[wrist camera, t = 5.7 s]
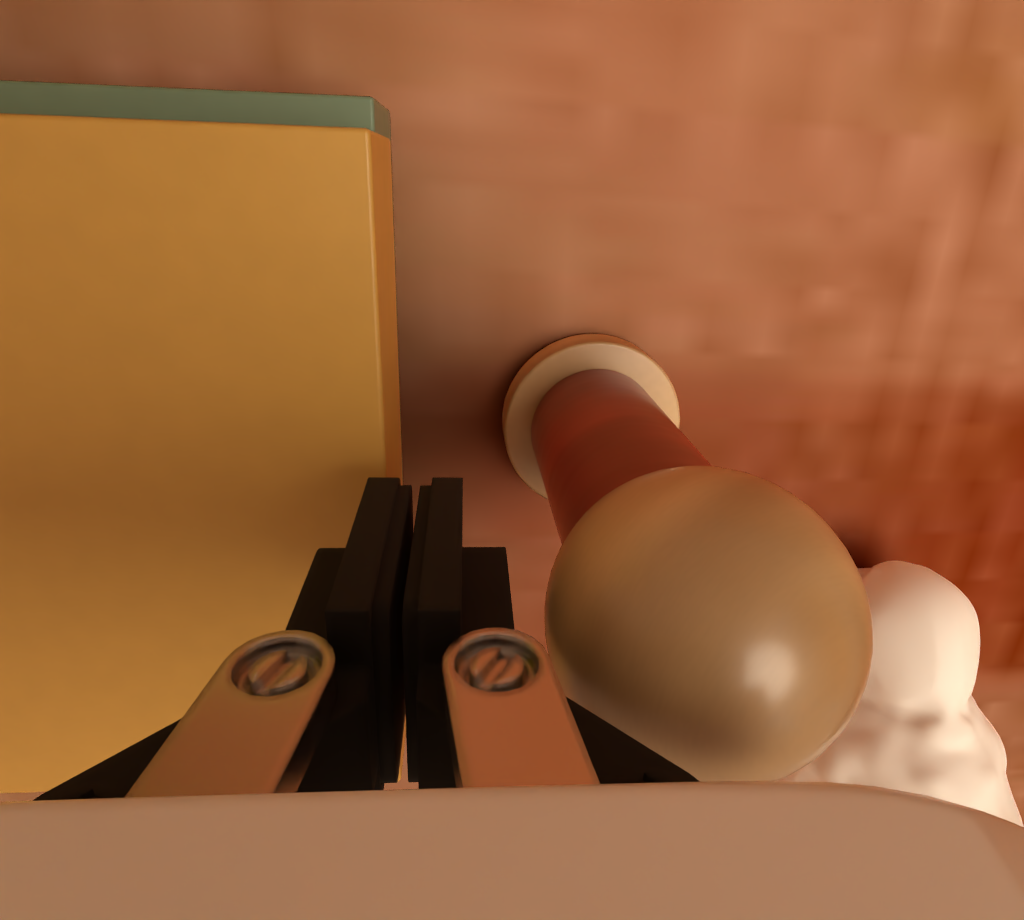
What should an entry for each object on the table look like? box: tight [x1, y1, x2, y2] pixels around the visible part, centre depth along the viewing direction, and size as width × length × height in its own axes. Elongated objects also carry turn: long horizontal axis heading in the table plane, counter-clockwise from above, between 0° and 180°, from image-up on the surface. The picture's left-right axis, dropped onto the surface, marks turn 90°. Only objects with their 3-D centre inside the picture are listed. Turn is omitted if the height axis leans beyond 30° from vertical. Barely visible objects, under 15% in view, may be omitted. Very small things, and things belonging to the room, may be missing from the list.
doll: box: [502, 334, 873, 782], centre depth 14 cm, size 9×5×12 cm, turn 88°
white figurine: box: [776, 561, 1023, 827], centre depth 20 cm, size 6×8×12 cm
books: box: [0, 80, 406, 793], centre depth 15 cm, size 11×15×6 cm
